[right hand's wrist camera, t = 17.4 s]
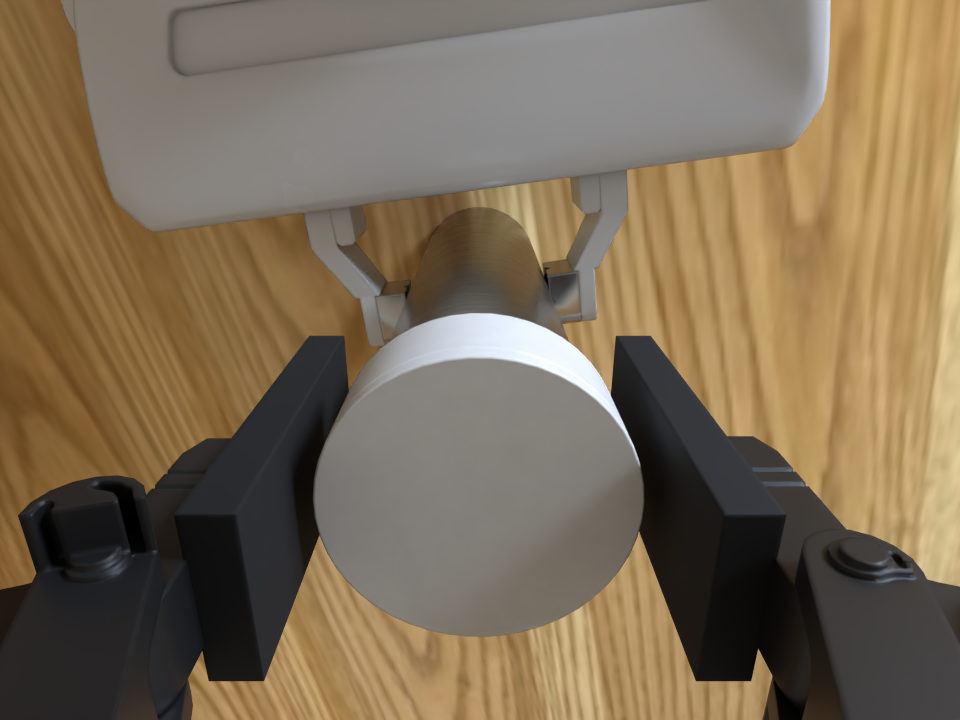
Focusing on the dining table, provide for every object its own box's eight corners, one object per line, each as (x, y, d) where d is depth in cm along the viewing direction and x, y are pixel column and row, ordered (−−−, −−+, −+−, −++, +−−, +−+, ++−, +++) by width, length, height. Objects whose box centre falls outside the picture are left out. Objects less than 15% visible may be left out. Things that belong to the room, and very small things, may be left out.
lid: (524, 254, 11) (533, 287, 9) (664, 477, 12) (702, 550, 10) (283, 407, 12) (243, 468, 10) (442, 594, 13) (436, 680, 11)
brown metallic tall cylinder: (512, 327, 28) (556, 619, 12) (412, 295, 27) (315, 556, 11) (549, 227, 26) (659, 409, 10) (444, 191, 25) (383, 323, 10)
